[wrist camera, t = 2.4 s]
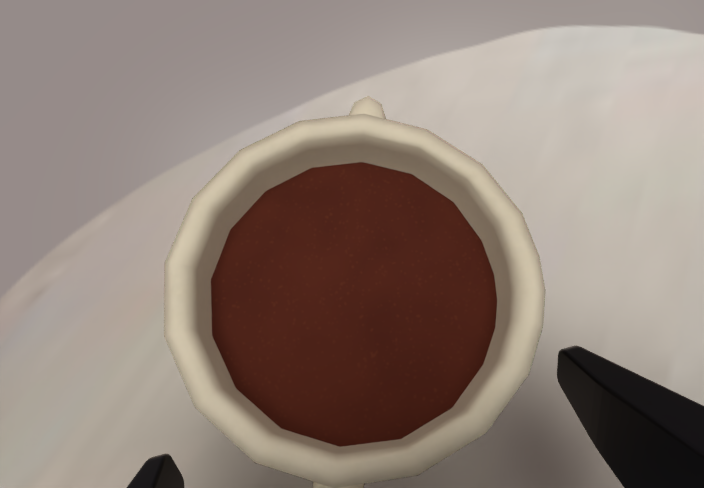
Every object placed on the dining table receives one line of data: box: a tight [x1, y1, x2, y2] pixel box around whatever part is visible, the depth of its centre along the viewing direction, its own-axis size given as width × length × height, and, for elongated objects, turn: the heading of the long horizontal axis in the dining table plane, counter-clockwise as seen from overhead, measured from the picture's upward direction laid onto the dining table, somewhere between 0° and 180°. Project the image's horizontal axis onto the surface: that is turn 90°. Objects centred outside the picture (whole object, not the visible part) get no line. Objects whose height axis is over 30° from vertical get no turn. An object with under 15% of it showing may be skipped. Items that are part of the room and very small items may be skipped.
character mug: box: [164, 96, 545, 488], centre depth 14 cm, size 11×7×13 cm, turn 176°
